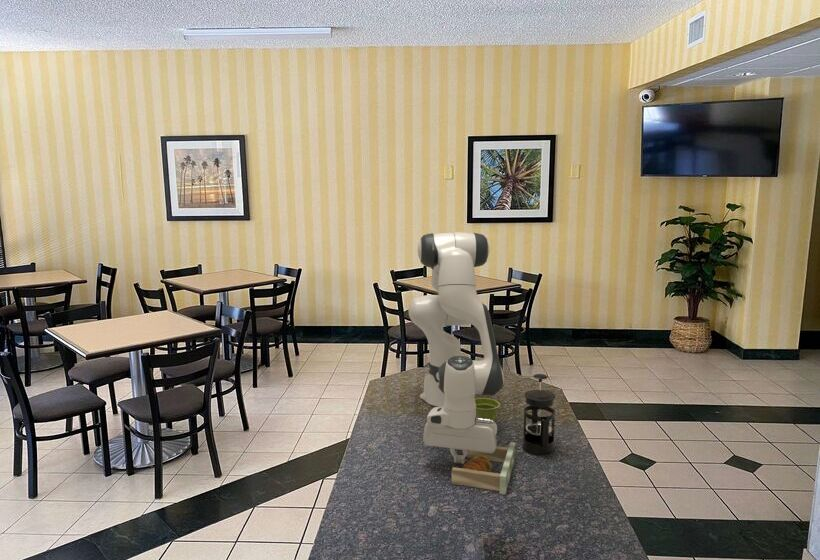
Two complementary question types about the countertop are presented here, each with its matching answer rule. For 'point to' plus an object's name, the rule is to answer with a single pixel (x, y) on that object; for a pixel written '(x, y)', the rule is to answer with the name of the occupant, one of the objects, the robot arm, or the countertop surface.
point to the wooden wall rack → (488, 478)
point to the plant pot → (486, 408)
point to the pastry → (478, 464)
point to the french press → (543, 429)
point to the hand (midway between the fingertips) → (459, 462)
